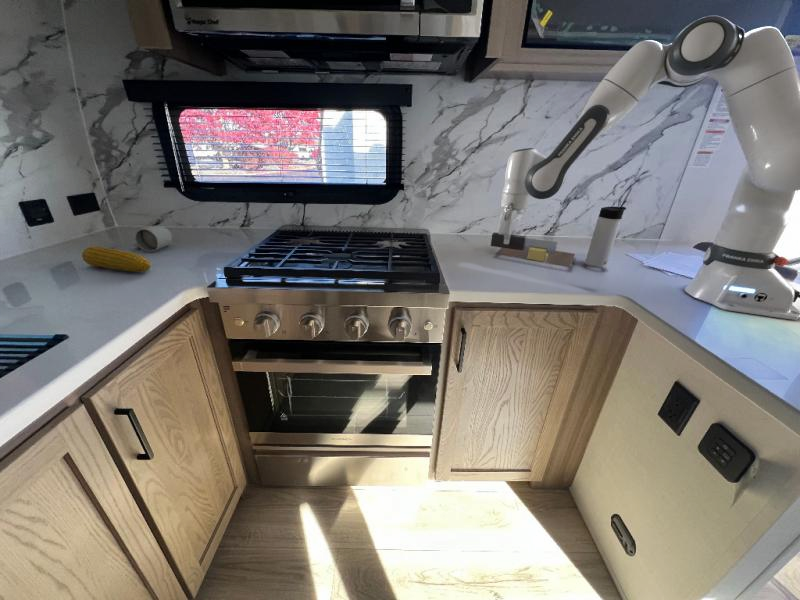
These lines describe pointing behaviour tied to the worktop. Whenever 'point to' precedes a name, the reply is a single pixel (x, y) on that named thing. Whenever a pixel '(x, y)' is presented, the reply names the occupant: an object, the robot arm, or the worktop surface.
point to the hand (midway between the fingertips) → (507, 242)
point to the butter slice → (537, 254)
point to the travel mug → (604, 236)
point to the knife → (522, 243)
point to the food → (115, 259)
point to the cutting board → (555, 259)
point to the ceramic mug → (153, 238)
